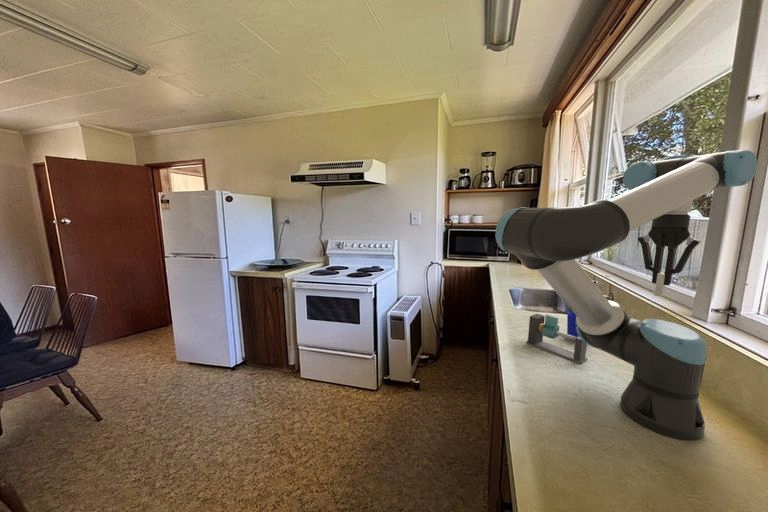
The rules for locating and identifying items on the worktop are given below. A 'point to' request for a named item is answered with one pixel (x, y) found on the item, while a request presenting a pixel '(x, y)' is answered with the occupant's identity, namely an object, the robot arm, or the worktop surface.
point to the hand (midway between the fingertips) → (659, 295)
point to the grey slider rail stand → (537, 340)
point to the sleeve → (550, 327)
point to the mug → (571, 324)
